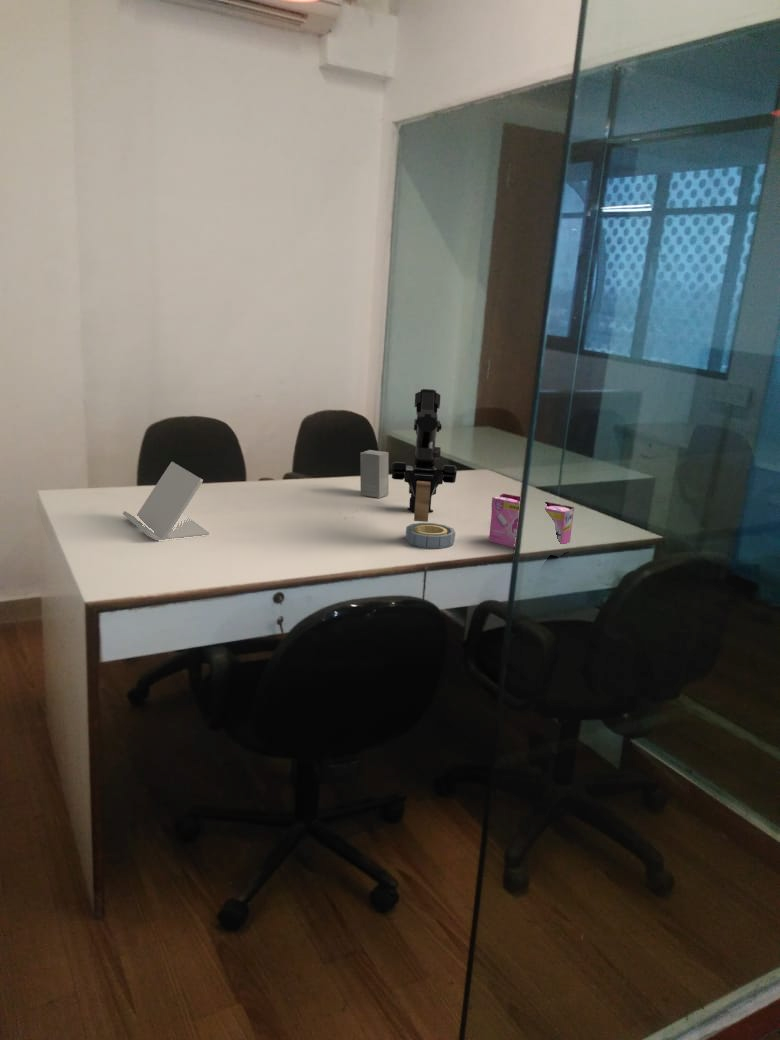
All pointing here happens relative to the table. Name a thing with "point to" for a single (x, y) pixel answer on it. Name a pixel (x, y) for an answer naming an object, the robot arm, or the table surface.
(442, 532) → the grey round dish
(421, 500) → the brown wooden block
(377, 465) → the skincare box
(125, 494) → the table surface
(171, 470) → the tablet stand
